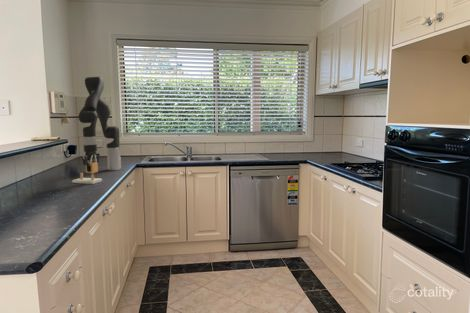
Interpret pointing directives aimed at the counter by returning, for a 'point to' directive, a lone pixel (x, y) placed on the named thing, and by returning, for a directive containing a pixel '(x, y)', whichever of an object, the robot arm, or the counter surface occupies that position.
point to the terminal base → (87, 179)
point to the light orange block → (93, 167)
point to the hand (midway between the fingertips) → (92, 170)
